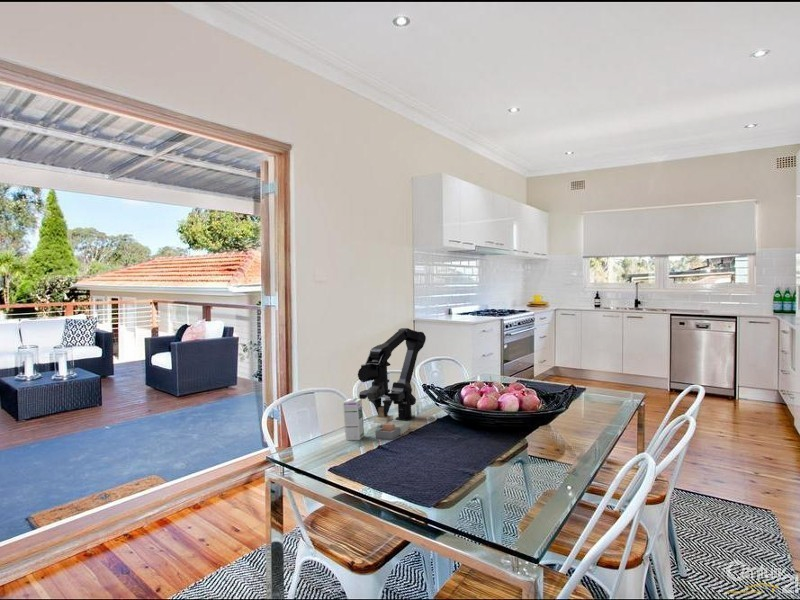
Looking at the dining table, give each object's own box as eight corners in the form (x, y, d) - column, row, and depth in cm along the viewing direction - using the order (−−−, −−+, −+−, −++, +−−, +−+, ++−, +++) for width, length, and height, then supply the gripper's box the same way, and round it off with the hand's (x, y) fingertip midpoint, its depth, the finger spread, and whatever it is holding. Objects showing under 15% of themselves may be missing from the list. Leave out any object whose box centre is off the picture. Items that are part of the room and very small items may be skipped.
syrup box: (360, 440, 177) (358, 401, 177) (345, 440, 178) (342, 401, 178) (364, 435, 183) (362, 398, 183) (349, 435, 184) (347, 398, 184)
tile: (385, 423, 183) (382, 424, 180) (394, 423, 181) (391, 425, 178) (386, 433, 183) (382, 435, 180) (395, 434, 181) (392, 436, 178)
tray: (384, 433, 185) (384, 426, 185) (400, 434, 181) (400, 427, 181) (375, 438, 179) (375, 430, 179) (392, 440, 175) (391, 432, 175)
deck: (393, 428, 191) (393, 421, 191) (409, 429, 188) (408, 422, 188) (384, 433, 185) (384, 425, 185) (400, 434, 182) (400, 426, 182)
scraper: (380, 418, 200) (380, 404, 200) (393, 419, 197) (392, 405, 197) (373, 422, 195) (372, 408, 195) (386, 423, 192) (385, 408, 192)
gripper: (350, 380, 193) (352, 419, 193) (390, 382, 184) (393, 422, 184) (365, 376, 203) (367, 412, 203) (404, 377, 194) (406, 415, 194)
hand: (382, 416), depth 196 cm, fingers closed on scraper, 2 cm apart
